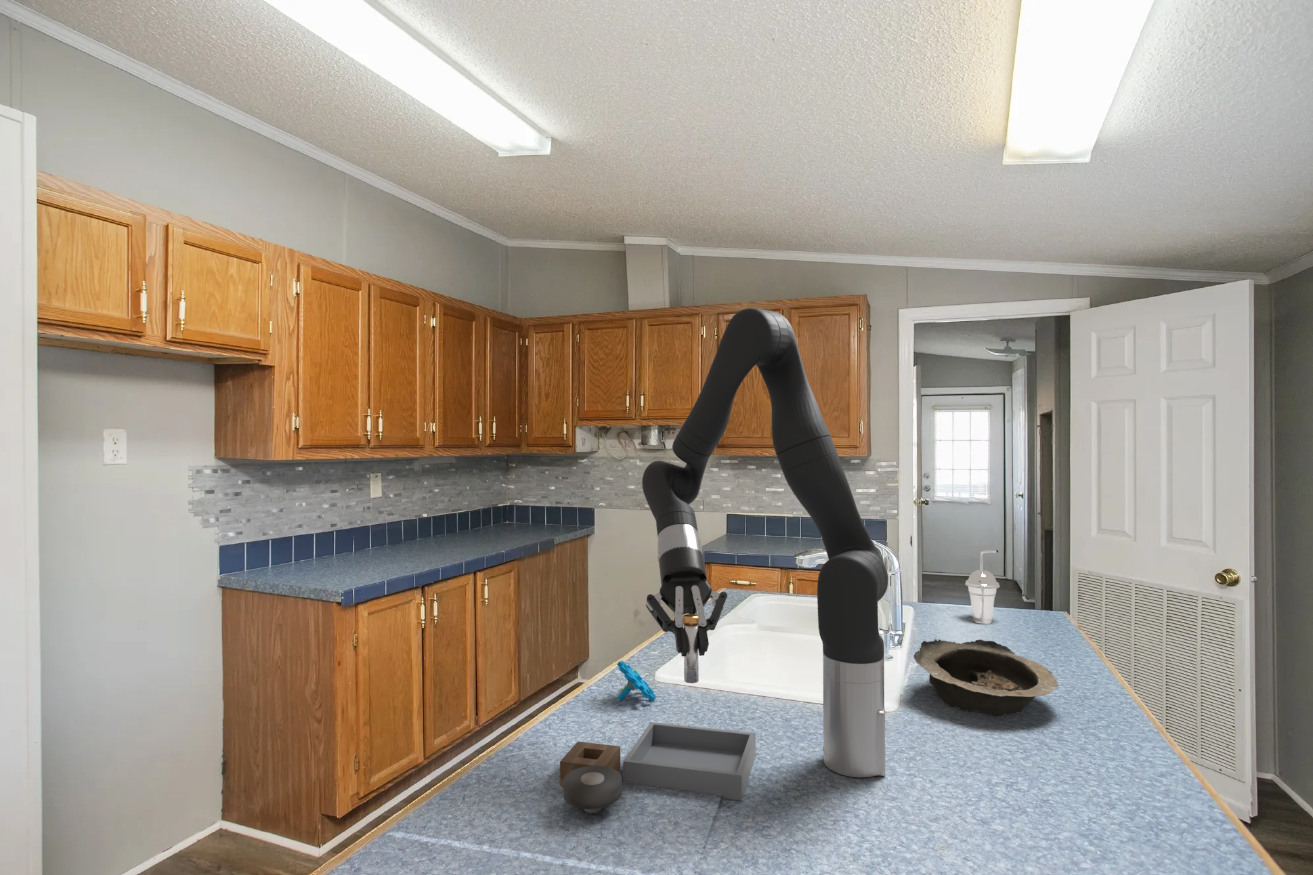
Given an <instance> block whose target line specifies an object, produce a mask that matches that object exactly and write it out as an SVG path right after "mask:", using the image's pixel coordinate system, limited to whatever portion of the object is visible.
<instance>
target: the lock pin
mask: <svg viewBox="0 0 1313 875" xmlns="http://www.w3.org/2000/svg"><path fill="white" fill-rule="evenodd" d="M698 624H699V616H698V615H696V614H684V615H683V628H685V634H686V642H687V656H683V659H684V660H683V667H684V668H683V673H684V674H683V675H684V676H683V678H684V680H683V681H684V683H687V684H696V683H699V680H700V679H699V673H700V672H699V670H700V669H699V650H698Z"/></svg>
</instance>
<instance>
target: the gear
mask: <svg viewBox="0 0 1313 875" xmlns="http://www.w3.org/2000/svg"><path fill="white" fill-rule="evenodd" d="M616 665H617V666H618V670H619V671H620V672H621V673H622V674H624V675H623V676H624V678H625V679H626V680H627V684H625V686H624V687H623V688H622V689H621V693H620V694H619V695H618V696H617V698H616V699H617V700H618V701H619V702H622V701H623V700H624V699H625V698H626V697H628V695H629V693H630V692H631V691H633V692H634V690H636V691H637V690H639V691H640V694H641V695H642V696H643V697H644V698H645V699H646V698H647V699H648V701H650V702H653V701H655V700H656V699H657V696H656V695H655V692H654V690H653V689H652V688H651V687H649V686H650V685H649V683H648V682H647V681H646V680H644V679H643V677H642V676H641V675H640V674H639V671H638V670H637V669H633V667H632V666H631V665H630V664H627V663H626V662H625V661H624V660H619V661H618V663H616Z"/></svg>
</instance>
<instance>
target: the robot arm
mask: <svg viewBox="0 0 1313 875" xmlns="http://www.w3.org/2000/svg"><path fill="white" fill-rule="evenodd" d="M798 345H799V344H798V342H797V338H796V335H795V332H794V329H793V327H792V325H791V323H790V321H789V320H788V319H787V318H786V317H785V316H784V315H783V314H781V313H779V312H777V311H774V310H768V309H763V308H755V307H748V308H744V309H741V310H739V311H738V312H736V313H735V314H734V315H733V316H732V317H731V319H729V322H728V323H727V326H726V327H725V329H724V332H723V335H722V337H721V339H720V341H719V345H718V347H717V349H716V353H715V356H714V358H713V361H712V362H711V366H710V368H709V371H708V373H707V376H706V378H705V381H704V383H703V386H702V388H701V389H700V392H699V395H698V397H697V398H696V401H695V403H694V404H693V407H692V408H691V410H690V412H689V414H688V415H687V417H686V419H685V420H684V422H683V424H682V426H681V428H680V429H679V431H678V433H677V435H676V436H675V438H674V439H673V442H672V447H671V448H672V451H673V454H674V455H675V456H676V458H678V459H680V461H682V462H684V463H686V464H685V465H684V466H683V467H682V466H680V465H676V464H674V463H670V462H668V461H663V460H655V461H652V462H650V463H649V464H648V465H647V466H646V468H645V469H644V471H643V474H642V480H641V484H642V485H641V486H642V491H643V495H644V497H645V500H646V502H647V505H648V507H649V509H650V512H651V513H652V516H653V518H654V520H655V524H656V525H655V527H656V535H657V560H658V566H659V575H660V576H659V577H660V588H659V592H658V593H655V594H652V593H651V594H647V595H646V602H645V607H646V609H647V610H648V612H649V613H650V614H651V616H652V617H653V619H654V620H655V621H656V623H657V625H658V626H659V627H660V628H661V630H662V631H663V632H664V633H668V632H670V633H672V634H673V635H674V639H675V648H676V651H677V653H678V654H681V657H684V656H687V642H686V634H685V628H684V624H683V615H686V614H696V615H698V616H699V624H698V657H699V656H702V657H703V656H705V653H707V652H708V648H709V645H710V642H709V637H708V631H714V630H716V627H717V625H718V622H719V620H720V617H721V615H722V612H723V610H724V608H725V605H726V603H727V598H728V593H727V592H725V591H721V592H717V591H714V590H713V589H712V586H711V585H710V584H709V583H708V578H707V576H708V575H707V571H706V565H705V559H704V552H703V545H702V541H701V538H700V536H699V531H698V530H699V528H698V524H697V523H698V522H697V519H696V514H695V510H694V509H693V507H692V506H691V504H692V503H693V502H694V501H695V500H696V499H697V497H698V496H699V493H700V491H701V490H700V489H701V485H702V481H703V477H704V474H705V471H706V467H707V465H708V462H709V459H710V457H711V456H712V454H713V452H714V451H715V449H716V447H717V446H718V445H719V443H720V441H721V439H722V437H723V435H724V434H725V432H726V430H727V427H728V425H729V424H728V423H729V420H730V418H731V413H732V406H733V402H734V400H735V397H736V394H737V391H738V390H739V389H740V386H741V384H742V382H743V381H744V379H745V378H746V377H747V375H749V373H750V372H751V371H752V369H753V368H754V367H755V366H756V367H757V369H758V371H759V373H760V376H762V379H763V381H764V384H765V386H766V389H767V393H768V396H769V400H770V405H771V439H772V445H773V449H774V452H775V454H776V457H777V460H778V463H779V465H780V468H781V471H782V473H783V476H784V479H785V480H786V482H787V486H788V487H789V488H790V489H791V491H792V493H793V495H794V496H795V497H796V499H797V500H798V501H799V503H800V504H801V505H802V507H803V508H804V510H805V511H806V513H807V514H808V515H809V517H810V518H811V520H812V521H813V522H814V524H815V526H816V528H817V530H818V532H819V534H820V536H821V540H822V542H823V546H824V549H825V552H826V555H827V559H828V560H827V561H825V563H824V564H823V565H822V566H821V568H820V570H819V573H818V578H817V585H816V586H817V587H816V590H817V591H816V592H817V593H816V594H817V596H816V598H817V600H816V601H817V602H816V603H817V624H818V632H819V637H820V639H821V642H822V714H823V715H822V719H823V720H822V722H823V723H822V724H823V725H822V726H823V730H822V734H823V735H822V736H823V737H822V738H823V744H822V751H823V764H824V765H825V767H827V769H829V770H831V771H832V772H834V773H836V774H839V775H842V776H845V777H852V778H871V777H875V776H882V777H885V776H886V710H885V642H884V639H883V638H882V636H881V635H880V631H879V608H878V607H879V605H878V602H879V601H881V599H882V598H883V597H884V596H885V594H886V593H887V590H888V586H889V573H888V570H887V568H886V564H885V562H884V560H883V559H882V556H881V555H880V552H879V551H878V549H877V547H876V545H875V543H874V541H873V539H872V537H871V535H870V533H869V532H868V530H867V528H866V525H865V524H864V521H863V520H862V517H861V515H860V513H859V510H858V508H857V507H858V506H857V505H856V501H855V498H854V496H853V493H852V490H851V487H850V483H849V482H848V479H847V476H846V473H845V471H844V469H843V466H842V462H841V459H840V457H839V454H838V451H837V448H836V446H835V443H834V441H833V439H832V436H831V433H830V431H829V428H828V427H827V424H826V422H825V420H824V418H823V415H822V413H821V410H820V407H819V405H818V402H817V399H816V398H815V394H814V393H813V391H812V390H813V389H812V388H811V386H810V383H809V380H808V377H807V374H806V373H807V372H806V371H805V367H804V363H803V360H802V357H801V353H800V349H799V346H798ZM709 599H711V605H712V607H713V609H712V612H711V614H710V616H709V618H706V615H705V606H706V605H707V602H708V601H709ZM663 603H664V604H665V605H666V606H667V607H668V608H669V609H670V610H671V611H672V612H673V619H671V617H669V614H667V612H666V611H665V609H664V607H662V604H663Z"/></svg>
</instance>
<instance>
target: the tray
mask: <svg viewBox="0 0 1313 875" xmlns="http://www.w3.org/2000/svg"><path fill="white" fill-rule="evenodd" d="M756 735H757V734H756V732H748V731H739V730H728V729H719V728H709V727H703V726H702V727H699V726H692V725H690V726H689V725H682V724H681V725H680V724H673V723H662V722H651V721H650V722H649V723H648V725H647V726H646V728H645V729H644V730H643V732H642V733H641V735H640V736H639V738H638V739H637V740H636V742H635V743H634V745H633V747H632V748H631V749H630V751H629V752H628V754H627V755H626V756H625V758H624V759H623V761H622V766H623V768H622V769H623V770H622V772H623V773H622V775H623V778H622V780H623V783H624V784H625V783H626V784H632V785H640V786H641V785H642V786H647V787H649V786H650V787H657V788H662V789H663V788H664V789H672V790H680V791H687V792H695V793H700V794H701V793H702V794H710V795H716V796H717V795H719V796H721V799H725V800H732V801H740V802H741V801H743V799H744V798H743V797H744V795H745V791H746V788H747V785H748V782H749V778H750V775H751V772H752V770H753V765H754V763H755V758H756V755H757V753H756V752H757V747H756V745H757V744H756V743H757V740H756V739H757V738H756Z"/></svg>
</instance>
